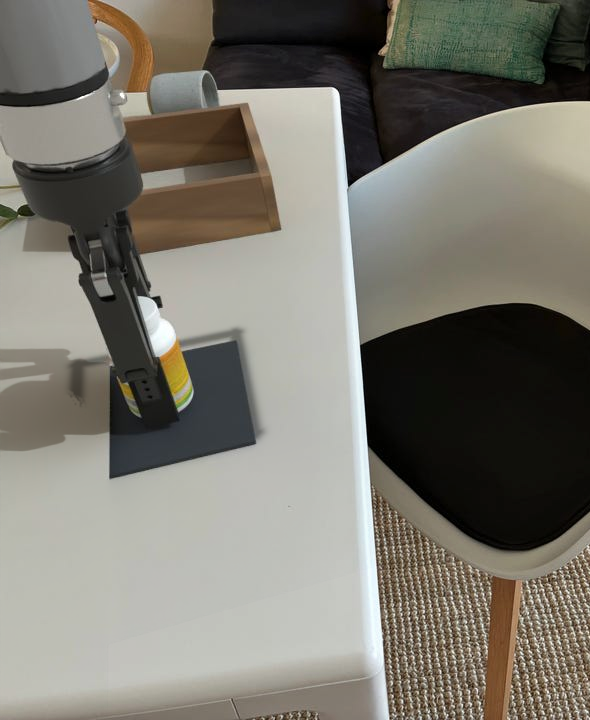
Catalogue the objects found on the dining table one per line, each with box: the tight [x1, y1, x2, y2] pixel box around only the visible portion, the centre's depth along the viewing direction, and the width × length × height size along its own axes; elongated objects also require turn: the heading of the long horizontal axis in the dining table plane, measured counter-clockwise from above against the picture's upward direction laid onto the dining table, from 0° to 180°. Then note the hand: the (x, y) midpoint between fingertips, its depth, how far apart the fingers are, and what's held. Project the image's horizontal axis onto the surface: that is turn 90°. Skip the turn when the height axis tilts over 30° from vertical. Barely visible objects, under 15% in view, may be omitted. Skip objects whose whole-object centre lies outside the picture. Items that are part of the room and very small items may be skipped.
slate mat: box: [108, 339, 257, 479], centre depth 68 cm, size 14×14×1 cm
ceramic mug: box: [146, 69, 221, 115], centre depth 108 cm, size 11×8×8 cm
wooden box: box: [122, 102, 282, 255], centre depth 93 cm, size 21×20×7 cm
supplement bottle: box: [104, 296, 193, 418], centre depth 64 cm, size 5×5×10 cm
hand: (161, 397), depth 67 cm, fingers closed on supplement bottle, 5 cm apart
